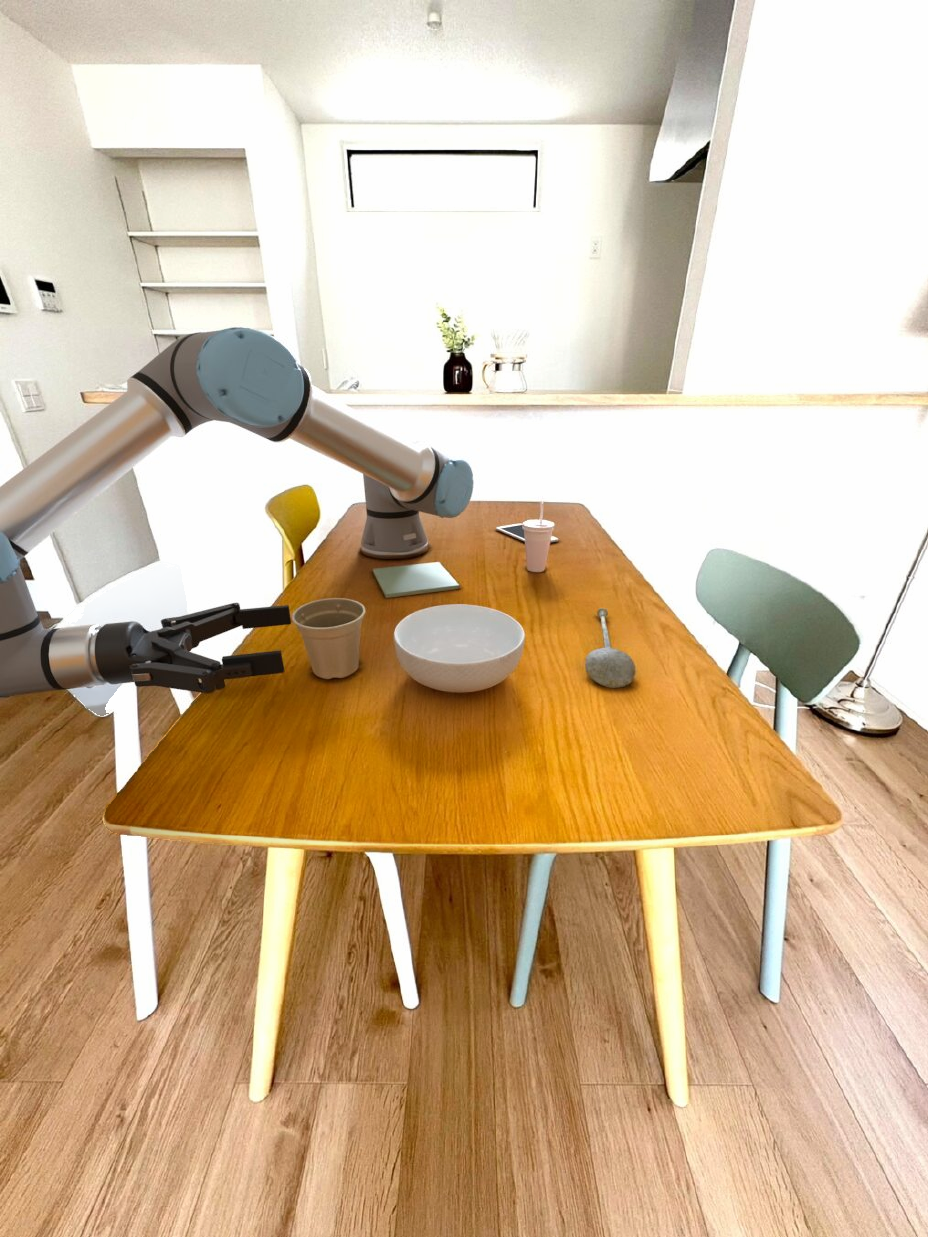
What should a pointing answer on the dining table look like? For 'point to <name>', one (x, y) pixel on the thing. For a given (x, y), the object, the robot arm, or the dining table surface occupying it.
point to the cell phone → (517, 532)
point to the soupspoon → (609, 661)
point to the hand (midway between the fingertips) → (286, 636)
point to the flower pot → (331, 635)
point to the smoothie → (537, 542)
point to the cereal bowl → (459, 647)
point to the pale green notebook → (414, 579)
